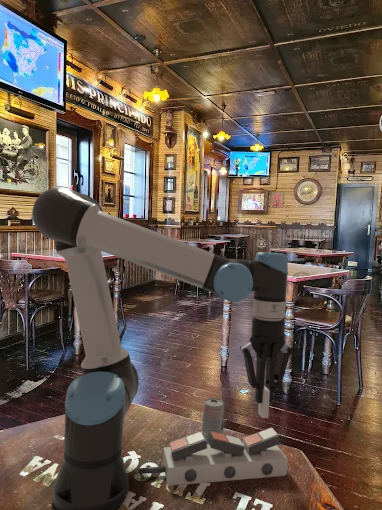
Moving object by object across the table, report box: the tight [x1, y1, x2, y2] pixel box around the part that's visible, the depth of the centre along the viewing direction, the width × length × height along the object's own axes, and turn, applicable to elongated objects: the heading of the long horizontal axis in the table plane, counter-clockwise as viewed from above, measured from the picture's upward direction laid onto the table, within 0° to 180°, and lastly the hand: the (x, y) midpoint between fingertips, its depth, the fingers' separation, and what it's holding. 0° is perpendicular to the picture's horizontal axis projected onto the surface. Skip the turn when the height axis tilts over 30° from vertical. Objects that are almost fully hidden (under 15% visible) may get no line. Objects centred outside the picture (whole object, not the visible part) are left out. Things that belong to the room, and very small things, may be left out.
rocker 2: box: [207, 431, 245, 456], centre depth 87 cm, size 8×4×2 cm, turn 101°
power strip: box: [138, 441, 288, 487], centre depth 87 cm, size 34×8×5 cm, turn 102°
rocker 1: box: [168, 430, 207, 460], centre depth 85 cm, size 8×4×2 cm, turn 103°
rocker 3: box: [242, 426, 282, 455], centre depth 89 cm, size 8×4×2 cm, turn 103°
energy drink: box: [201, 397, 225, 445], centre depth 96 cm, size 5×5×12 cm
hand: (263, 415), depth 89 cm, fingers closed
